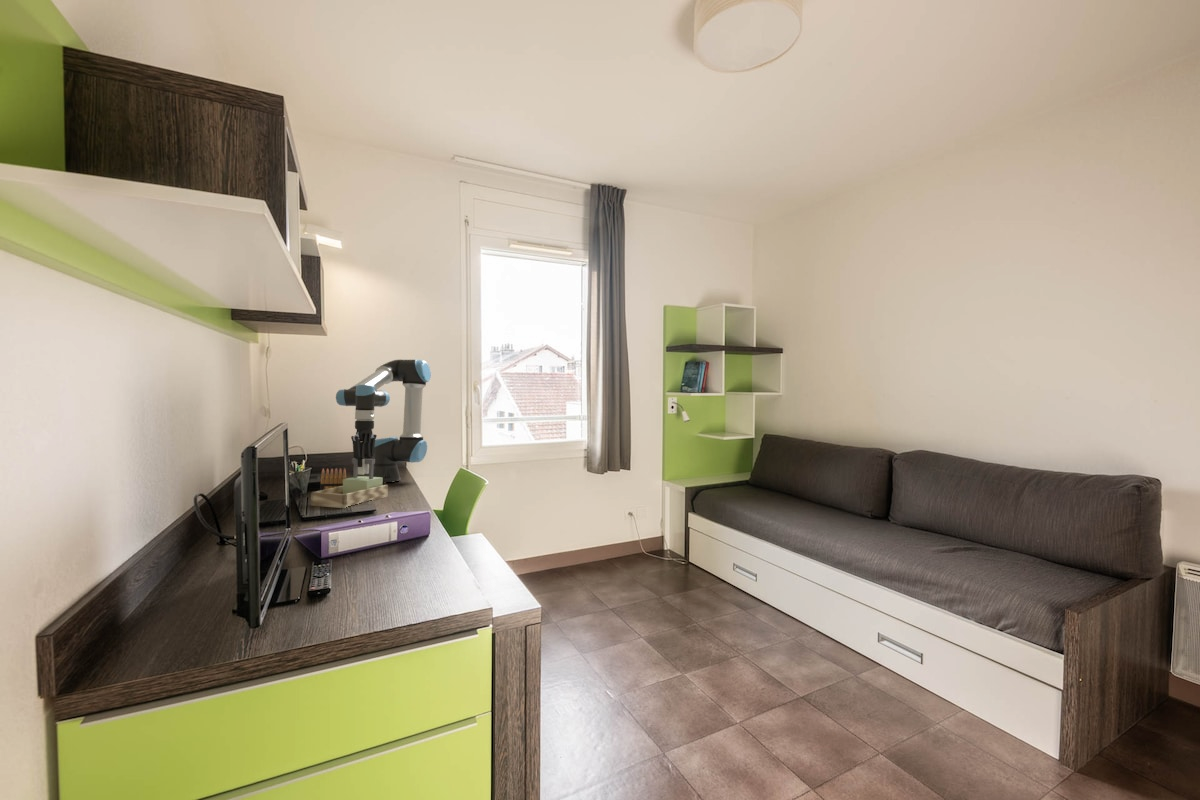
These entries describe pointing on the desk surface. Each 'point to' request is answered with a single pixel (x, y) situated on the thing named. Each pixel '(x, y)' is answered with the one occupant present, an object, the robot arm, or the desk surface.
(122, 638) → the desk surface
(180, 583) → the desk surface
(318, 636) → the desk surface
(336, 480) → the ammunition clip
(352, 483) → the green panel with handle
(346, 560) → the desk surface
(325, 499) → the bay
